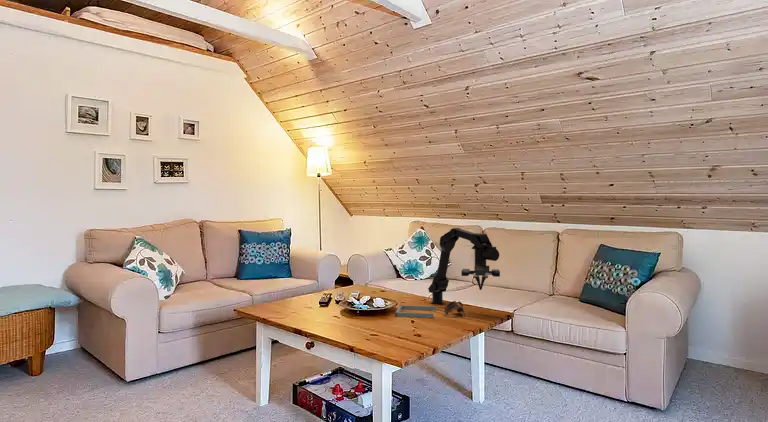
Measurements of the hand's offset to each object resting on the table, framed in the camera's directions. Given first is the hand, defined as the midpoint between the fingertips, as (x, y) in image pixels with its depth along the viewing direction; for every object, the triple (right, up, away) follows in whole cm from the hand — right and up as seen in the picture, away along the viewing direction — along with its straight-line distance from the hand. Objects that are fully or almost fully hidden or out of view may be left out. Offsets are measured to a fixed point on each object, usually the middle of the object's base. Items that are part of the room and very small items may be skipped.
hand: (480, 289), depth 250 cm
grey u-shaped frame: (-32, -13, +7) cm, 35 cm away
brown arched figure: (-12, -13, +3) cm, 18 cm away
